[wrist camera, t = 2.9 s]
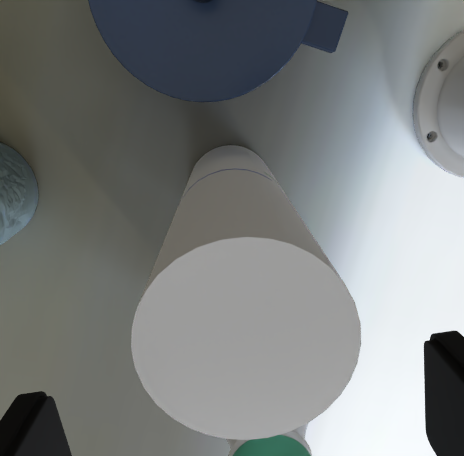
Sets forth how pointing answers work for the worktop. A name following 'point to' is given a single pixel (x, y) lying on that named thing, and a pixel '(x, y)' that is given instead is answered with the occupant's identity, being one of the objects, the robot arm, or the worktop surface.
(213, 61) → the pot lid
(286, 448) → the milk bottle
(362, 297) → the worktop surface
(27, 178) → the grey green cup
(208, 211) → the cylindrical container
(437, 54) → the robot arm
